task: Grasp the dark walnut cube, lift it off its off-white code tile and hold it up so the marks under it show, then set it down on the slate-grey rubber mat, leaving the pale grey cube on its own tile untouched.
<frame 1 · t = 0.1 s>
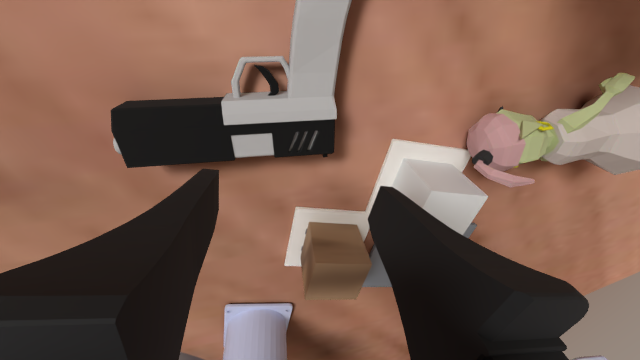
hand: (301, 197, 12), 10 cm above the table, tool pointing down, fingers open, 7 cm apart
figurine: (529, 114, 23), on the table
code tile b: (415, 182, 25), on the table
toy gun: (232, 69, 18), on the table
slate mat: (412, 255, 31), on the table
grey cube: (417, 184, 25), resting on code tile b
code tile a: (327, 238, 28), on the table
walnut cube: (328, 241, 28), resting on code tile a
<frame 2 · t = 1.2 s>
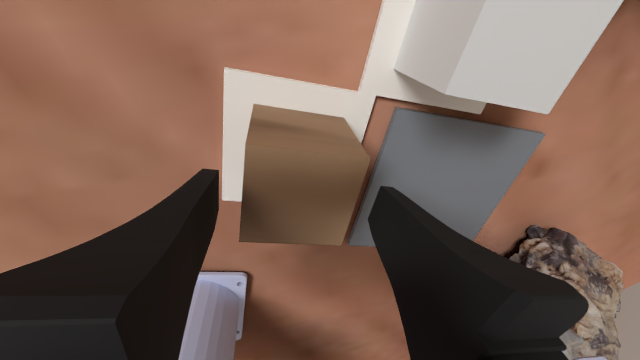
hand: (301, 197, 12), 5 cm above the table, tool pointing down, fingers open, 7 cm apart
rock: (501, 257, 26), on the table
code tile b: (452, 25, 14), on the table
slate mat: (436, 191, 20), on the table
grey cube: (455, 25, 13), resting on code tile b
code tile a: (293, 149, 16), on the table
walnut cube: (293, 151, 16), resting on code tile a
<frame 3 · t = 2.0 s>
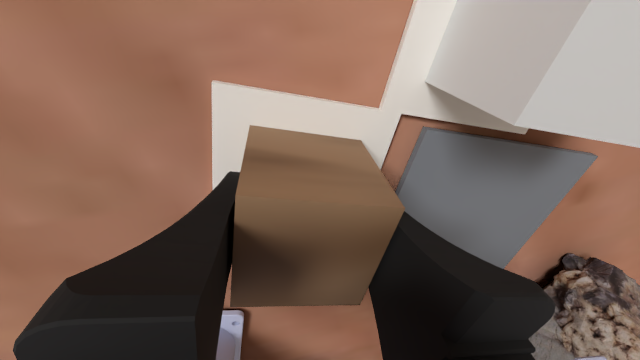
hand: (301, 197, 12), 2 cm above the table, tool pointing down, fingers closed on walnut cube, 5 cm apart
rock: (530, 285, 23), on the table
code tile b: (500, 27, 11), on the table
slate mat: (464, 219, 17), on the table
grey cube: (506, 28, 10), resting on code tile b
code tile a: (298, 176, 13), on the table
walnut cube: (299, 180, 13), resting on code tile a, touching gripper
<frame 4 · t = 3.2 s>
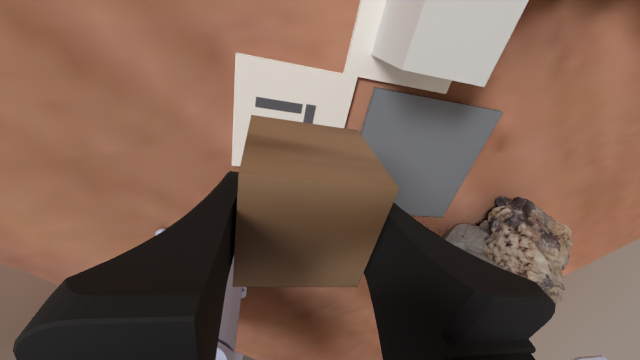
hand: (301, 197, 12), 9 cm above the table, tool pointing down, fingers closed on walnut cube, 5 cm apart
rock: (476, 226, 29), on the table
code tile b: (417, 19, 17), on the table
slate mat: (413, 162, 23), on the table
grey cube: (419, 20, 17), resting on code tile b
code tile a: (290, 122, 19), on the table
walnut cube: (298, 169, 13), point 7 cm above the table, touching gripper
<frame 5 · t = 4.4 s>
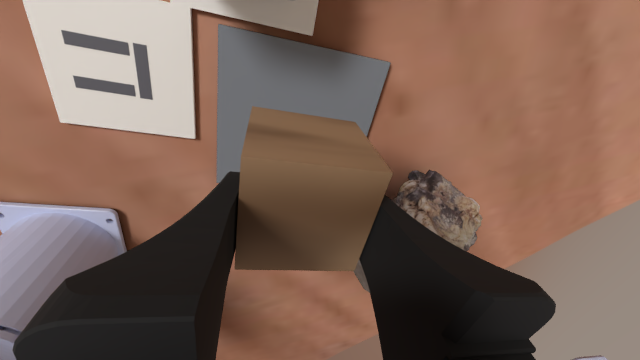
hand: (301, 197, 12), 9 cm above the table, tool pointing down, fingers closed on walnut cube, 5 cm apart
rock: (394, 207, 26), on the table
slate mat: (296, 125, 20), on the table
code tile a: (123, 68, 16), on the table
walnut cube: (297, 160, 14), point 7 cm above the table, touching gripper
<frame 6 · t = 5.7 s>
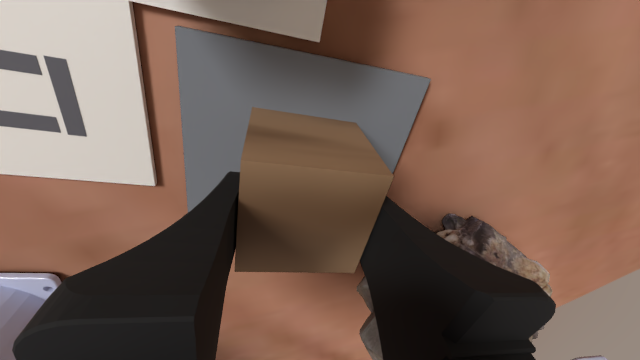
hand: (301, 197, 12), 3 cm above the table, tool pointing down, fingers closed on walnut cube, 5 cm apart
rock: (421, 254, 21), on the table
slate mat: (296, 163, 14), on the table
code tile a: (36, 92, 11), on the table
walnut cube: (298, 161, 14), resting on slate mat, touching gripper
when the fingers open (3 cm above the table, at t = 6.2 s): walnut cube stays where it is, resting on slate mat.
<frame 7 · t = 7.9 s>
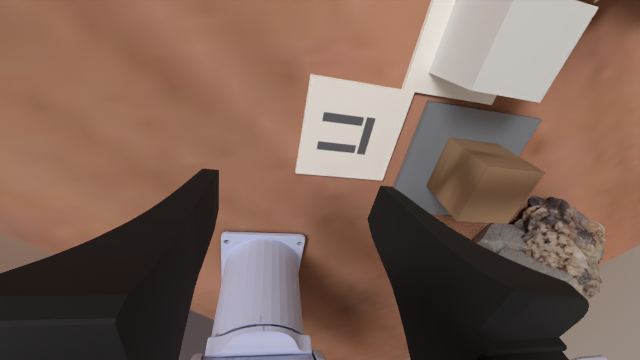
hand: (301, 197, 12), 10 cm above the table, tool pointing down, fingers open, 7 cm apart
rock: (508, 225, 31), on the table
code tile b: (471, 40, 19), on the table
slate mat: (456, 166, 25), on the table
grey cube: (474, 41, 19), resting on code tile b
code tile a: (350, 133, 21), on the table
walnut cube: (460, 165, 24), resting on slate mat
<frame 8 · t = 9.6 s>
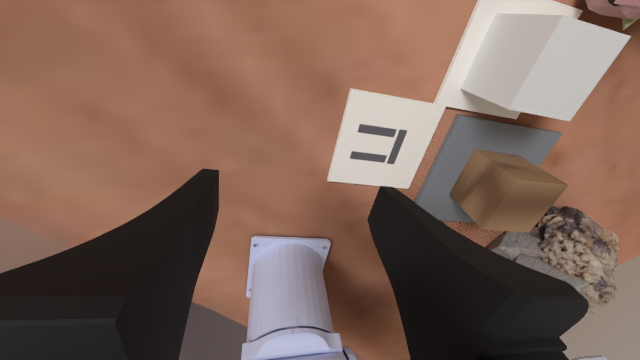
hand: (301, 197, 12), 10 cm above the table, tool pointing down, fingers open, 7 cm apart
rock: (522, 232, 32), on the table
code tile b: (502, 59, 20), on the table
slate mat: (478, 176, 26), on the table
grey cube: (505, 60, 20), resting on code tile b
code tile a: (382, 144, 22), on the table
walnut cube: (483, 175, 25), resting on slate mat
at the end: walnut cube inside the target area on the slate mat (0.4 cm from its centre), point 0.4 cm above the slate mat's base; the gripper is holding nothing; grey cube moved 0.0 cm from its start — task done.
